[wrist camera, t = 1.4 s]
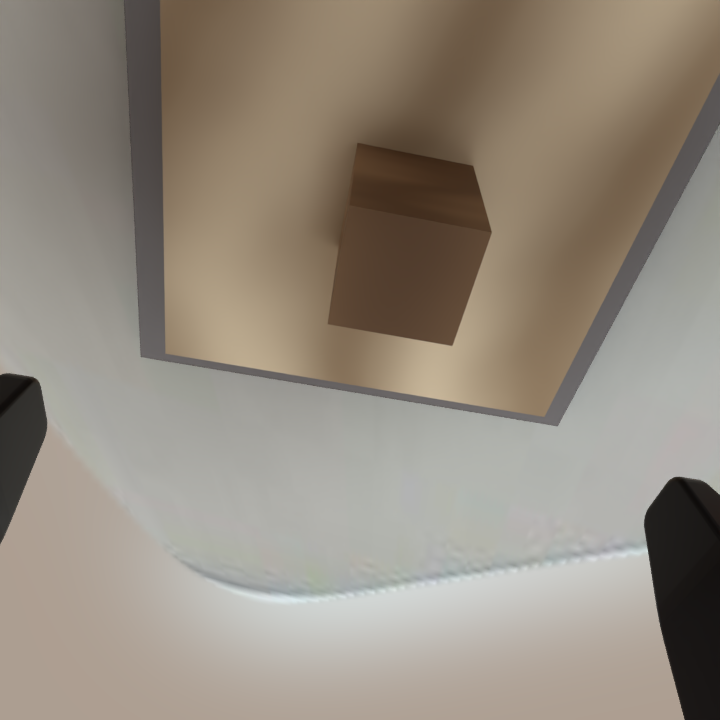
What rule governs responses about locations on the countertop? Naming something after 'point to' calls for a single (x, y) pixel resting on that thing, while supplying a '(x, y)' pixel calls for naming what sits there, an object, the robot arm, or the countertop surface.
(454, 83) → the lid
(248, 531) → the countertop surface
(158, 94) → the mat
